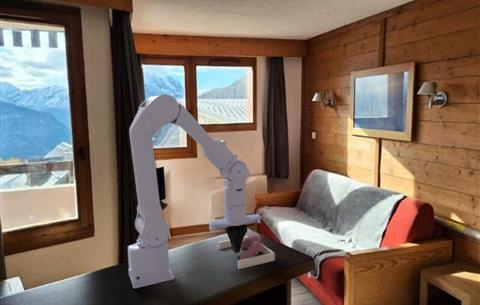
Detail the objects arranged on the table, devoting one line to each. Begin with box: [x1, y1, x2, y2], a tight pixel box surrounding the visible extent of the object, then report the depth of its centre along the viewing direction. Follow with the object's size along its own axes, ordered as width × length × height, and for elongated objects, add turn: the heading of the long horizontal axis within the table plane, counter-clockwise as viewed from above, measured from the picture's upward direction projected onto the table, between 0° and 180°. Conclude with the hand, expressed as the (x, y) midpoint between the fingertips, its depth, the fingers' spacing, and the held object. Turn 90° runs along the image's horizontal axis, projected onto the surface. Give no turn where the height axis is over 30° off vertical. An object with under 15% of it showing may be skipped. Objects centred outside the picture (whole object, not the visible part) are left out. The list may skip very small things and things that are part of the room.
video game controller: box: [239, 231, 262, 260], centre depth 94 cm, size 10×5×7 cm, turn 1°
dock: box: [217, 235, 276, 270], centre depth 95 cm, size 11×14×2 cm
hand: (236, 251), depth 94 cm, fingers closed
